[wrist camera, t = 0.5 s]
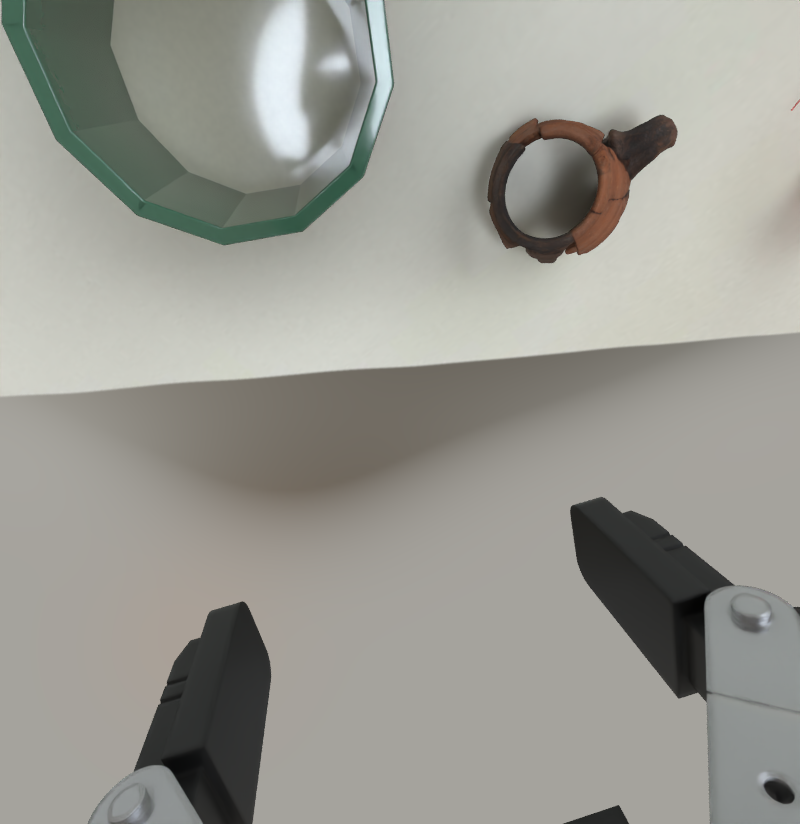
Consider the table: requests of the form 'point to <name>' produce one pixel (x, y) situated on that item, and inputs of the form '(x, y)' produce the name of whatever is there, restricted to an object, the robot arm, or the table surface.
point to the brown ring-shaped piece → (615, 171)
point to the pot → (212, 103)
